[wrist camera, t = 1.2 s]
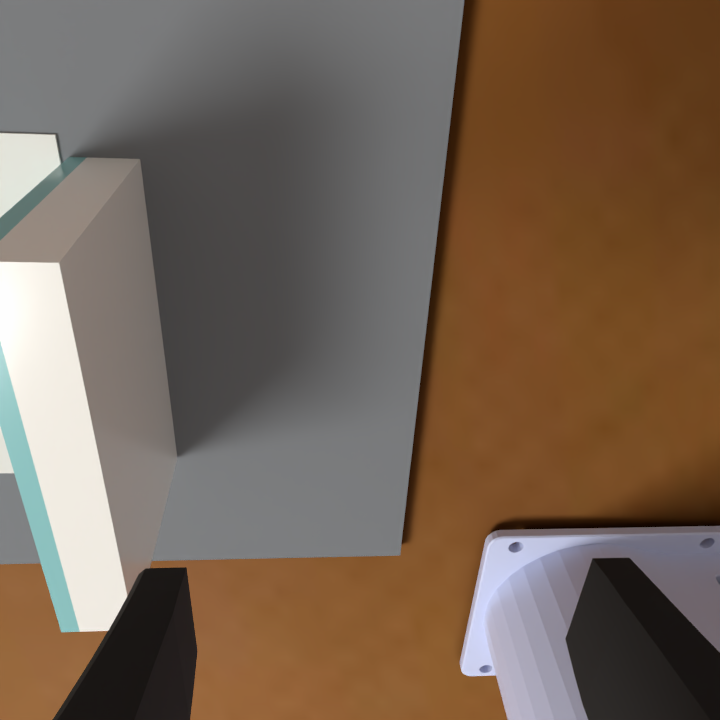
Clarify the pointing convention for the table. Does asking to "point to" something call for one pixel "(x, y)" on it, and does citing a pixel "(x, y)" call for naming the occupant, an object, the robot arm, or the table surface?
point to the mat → (258, 242)
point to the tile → (85, 383)
